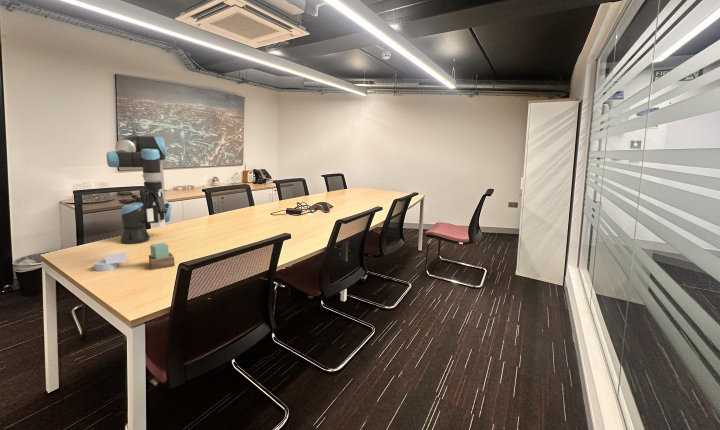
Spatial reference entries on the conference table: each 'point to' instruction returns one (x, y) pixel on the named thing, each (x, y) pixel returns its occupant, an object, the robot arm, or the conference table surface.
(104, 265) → the wedge on round base
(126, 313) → the conference table surface
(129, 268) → the conference table surface
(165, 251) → the green cube
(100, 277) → the conference table surface
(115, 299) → the conference table surface
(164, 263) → the walnut block
